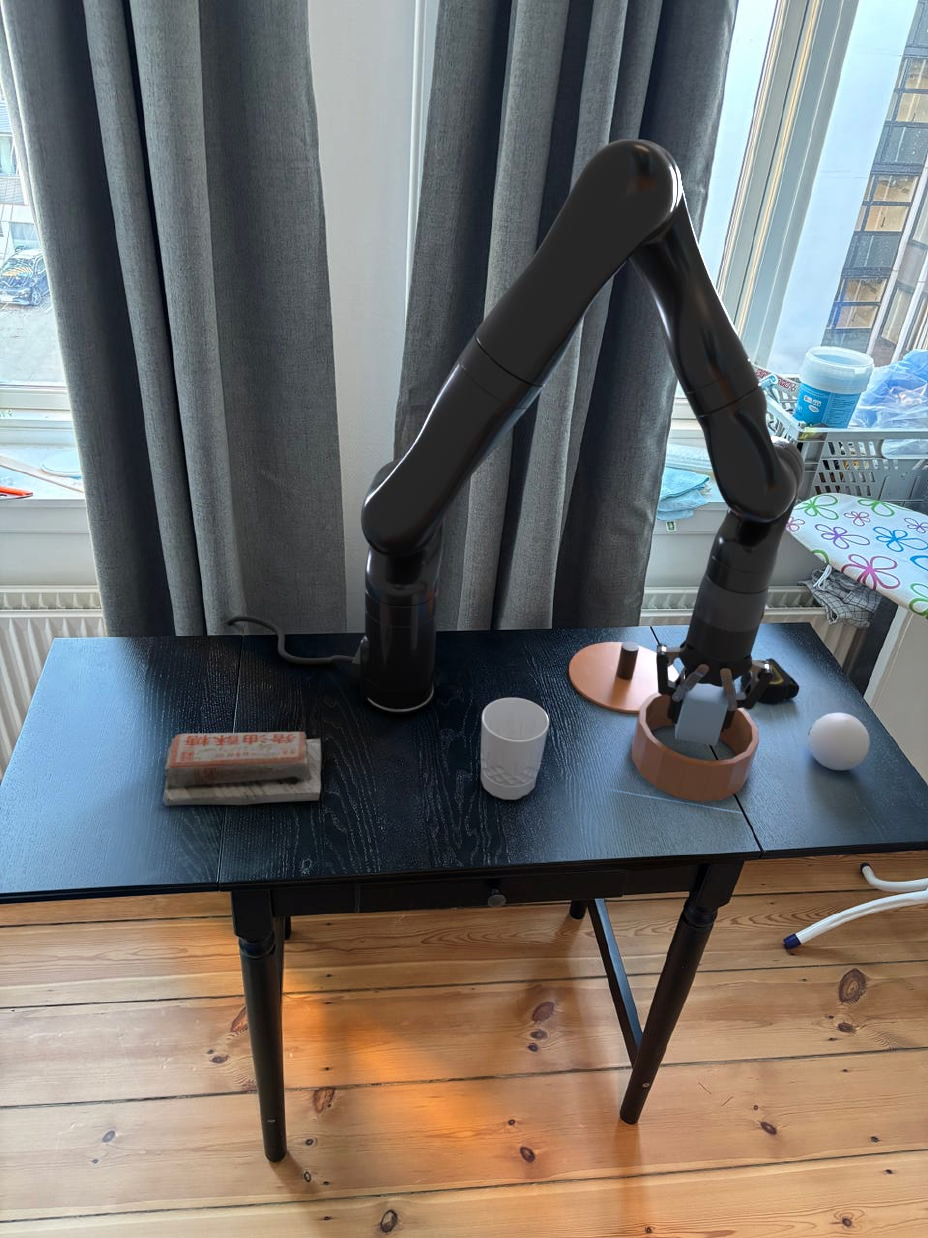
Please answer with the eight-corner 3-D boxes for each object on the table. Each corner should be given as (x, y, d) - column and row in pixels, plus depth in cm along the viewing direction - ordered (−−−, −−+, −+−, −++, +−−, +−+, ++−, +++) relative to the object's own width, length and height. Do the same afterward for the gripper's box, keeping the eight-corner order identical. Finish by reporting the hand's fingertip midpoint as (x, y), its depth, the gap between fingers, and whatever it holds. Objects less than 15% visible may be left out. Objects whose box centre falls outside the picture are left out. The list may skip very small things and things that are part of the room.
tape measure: (797, 704, 133) (804, 683, 131) (754, 711, 132) (761, 690, 129) (770, 675, 139) (776, 654, 137) (728, 681, 137) (734, 660, 135)
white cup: (495, 812, 113) (502, 748, 107) (464, 769, 119) (470, 707, 113) (552, 792, 116) (561, 730, 111) (519, 752, 122) (527, 690, 116)
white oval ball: (870, 782, 121) (888, 739, 117) (814, 783, 121) (830, 739, 116) (839, 730, 129) (855, 687, 125) (786, 730, 129) (800, 687, 125)
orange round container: (628, 792, 117) (637, 753, 113) (633, 717, 129) (641, 679, 125) (749, 813, 115) (762, 774, 112) (743, 735, 127) (754, 697, 124)
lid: (562, 706, 130) (568, 670, 127) (573, 640, 143) (578, 606, 139) (679, 725, 128) (688, 689, 125) (679, 657, 141) (687, 623, 138)
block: (674, 739, 117) (685, 698, 113) (675, 713, 121) (685, 673, 117) (716, 746, 117) (728, 705, 113) (715, 720, 121) (726, 680, 117)
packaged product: (157, 778, 107) (169, 720, 116) (162, 809, 110) (174, 750, 118) (320, 772, 110) (320, 716, 118) (321, 802, 112) (321, 745, 121)
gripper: (789, 603, 111) (753, 715, 121) (665, 583, 113) (639, 695, 122) (795, 639, 105) (757, 754, 114) (664, 617, 106) (637, 733, 116)
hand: (696, 723), depth 118 cm, fingers closed on block, 5 cm apart
